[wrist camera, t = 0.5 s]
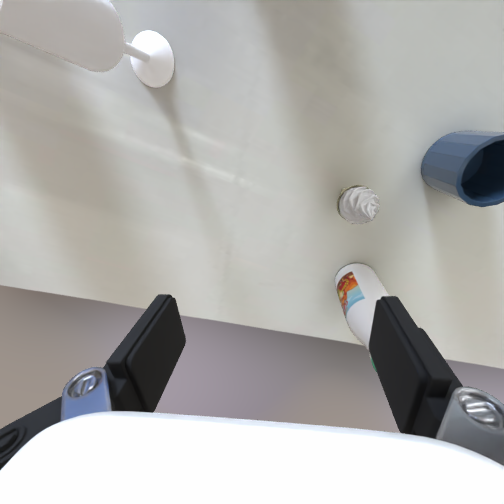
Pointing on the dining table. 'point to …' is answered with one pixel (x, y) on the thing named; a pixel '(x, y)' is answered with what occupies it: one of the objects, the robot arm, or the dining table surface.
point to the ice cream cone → (358, 204)
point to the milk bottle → (359, 298)
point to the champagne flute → (87, 36)
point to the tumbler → (467, 167)
